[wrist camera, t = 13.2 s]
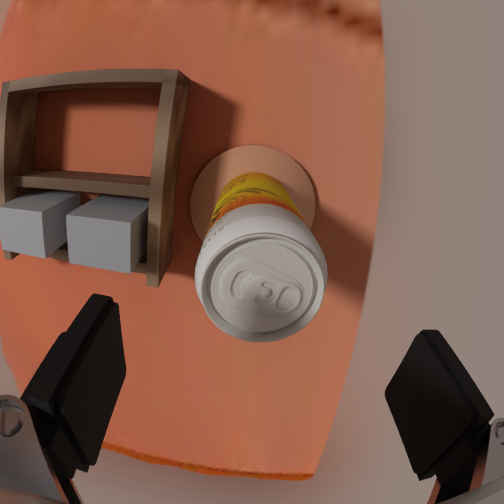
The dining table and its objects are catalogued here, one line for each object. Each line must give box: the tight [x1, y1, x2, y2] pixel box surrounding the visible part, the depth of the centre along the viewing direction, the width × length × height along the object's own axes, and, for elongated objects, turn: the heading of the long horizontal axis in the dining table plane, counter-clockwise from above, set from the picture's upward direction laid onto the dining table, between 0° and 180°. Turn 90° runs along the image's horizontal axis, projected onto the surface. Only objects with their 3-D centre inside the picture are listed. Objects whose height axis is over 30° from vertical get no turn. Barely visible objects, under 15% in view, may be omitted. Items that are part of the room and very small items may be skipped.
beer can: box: [195, 172, 328, 342], centre depth 20 cm, size 6×6×15 cm
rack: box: [0, 69, 190, 287], centre depth 23 cm, size 17×17×5 cm
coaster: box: [190, 145, 316, 242], centre depth 27 cm, size 11×11×1 cm
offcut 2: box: [66, 194, 149, 273], centre depth 24 cm, size 4×6×7 cm
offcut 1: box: [0, 188, 81, 258], centre depth 24 cm, size 4×6×7 cm
